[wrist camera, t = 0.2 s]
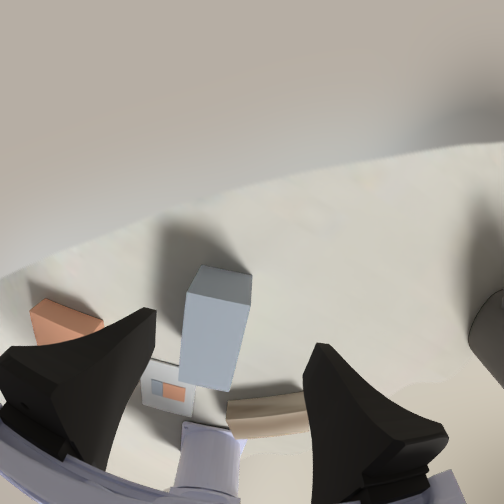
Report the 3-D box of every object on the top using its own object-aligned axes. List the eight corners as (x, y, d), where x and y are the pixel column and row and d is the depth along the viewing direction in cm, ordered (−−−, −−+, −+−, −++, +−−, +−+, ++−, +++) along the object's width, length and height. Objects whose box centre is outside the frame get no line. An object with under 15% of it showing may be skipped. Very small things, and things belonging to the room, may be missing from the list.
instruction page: (192, 416, 27) (191, 418, 26) (142, 403, 26) (142, 404, 26) (197, 370, 24) (197, 372, 24) (139, 355, 24) (138, 357, 24)
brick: (306, 411, 26) (309, 431, 24) (236, 419, 27) (234, 439, 24) (303, 389, 25) (307, 410, 22) (228, 398, 26) (225, 419, 23)
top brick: (233, 353, 24) (228, 392, 19) (190, 344, 24) (178, 381, 19) (252, 274, 21) (250, 305, 17) (201, 264, 21) (186, 292, 16)
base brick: (109, 376, 25) (99, 393, 22) (56, 353, 25) (44, 367, 22) (103, 320, 23) (88, 337, 20) (45, 298, 23) (29, 310, 20)
